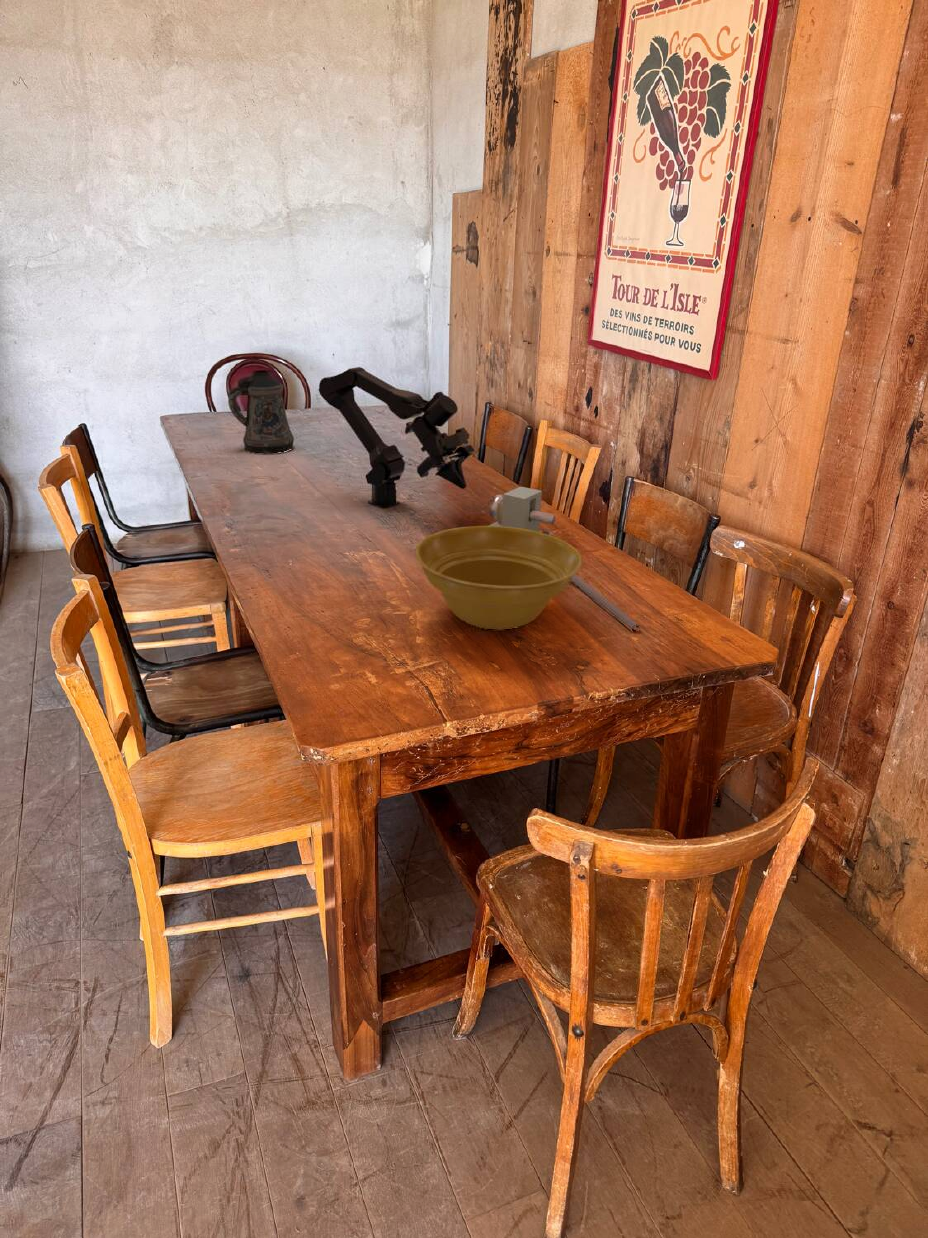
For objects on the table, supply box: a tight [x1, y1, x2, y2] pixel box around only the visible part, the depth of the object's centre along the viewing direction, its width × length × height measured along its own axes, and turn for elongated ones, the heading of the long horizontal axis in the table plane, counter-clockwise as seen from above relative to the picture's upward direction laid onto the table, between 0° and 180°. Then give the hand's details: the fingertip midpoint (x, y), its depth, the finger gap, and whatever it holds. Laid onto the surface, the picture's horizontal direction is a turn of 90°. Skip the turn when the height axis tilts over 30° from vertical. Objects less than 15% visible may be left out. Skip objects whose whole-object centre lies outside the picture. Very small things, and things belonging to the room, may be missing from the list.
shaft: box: [489, 494, 556, 525], centre depth 207 cm, size 16×6×6 cm, turn 57°
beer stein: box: [227, 369, 295, 454], centre depth 275 cm, size 16×19×25 cm
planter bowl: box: [414, 525, 583, 630], centre depth 164 cm, size 32×32×13 cm
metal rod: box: [570, 573, 641, 629], centre depth 174 cm, size 2×27×2 cm, turn 20°
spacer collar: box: [497, 501, 503, 523], centre depth 209 cm, size 2×5×5 cm, turn 147°
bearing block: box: [488, 486, 554, 537], centre depth 208 cm, size 16×9×12 cm, turn 57°
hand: (464, 487), depth 214 cm, fingers closed
